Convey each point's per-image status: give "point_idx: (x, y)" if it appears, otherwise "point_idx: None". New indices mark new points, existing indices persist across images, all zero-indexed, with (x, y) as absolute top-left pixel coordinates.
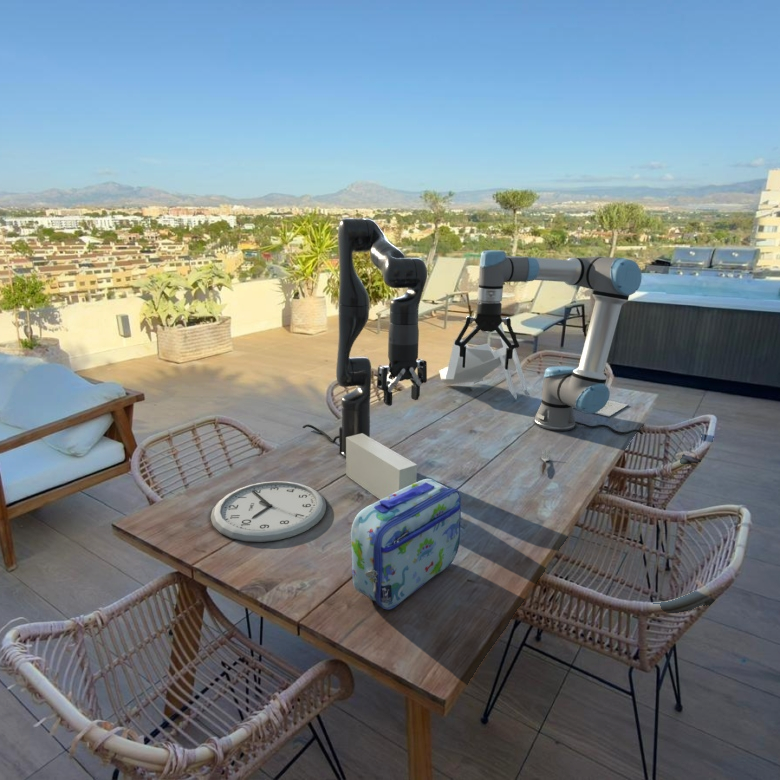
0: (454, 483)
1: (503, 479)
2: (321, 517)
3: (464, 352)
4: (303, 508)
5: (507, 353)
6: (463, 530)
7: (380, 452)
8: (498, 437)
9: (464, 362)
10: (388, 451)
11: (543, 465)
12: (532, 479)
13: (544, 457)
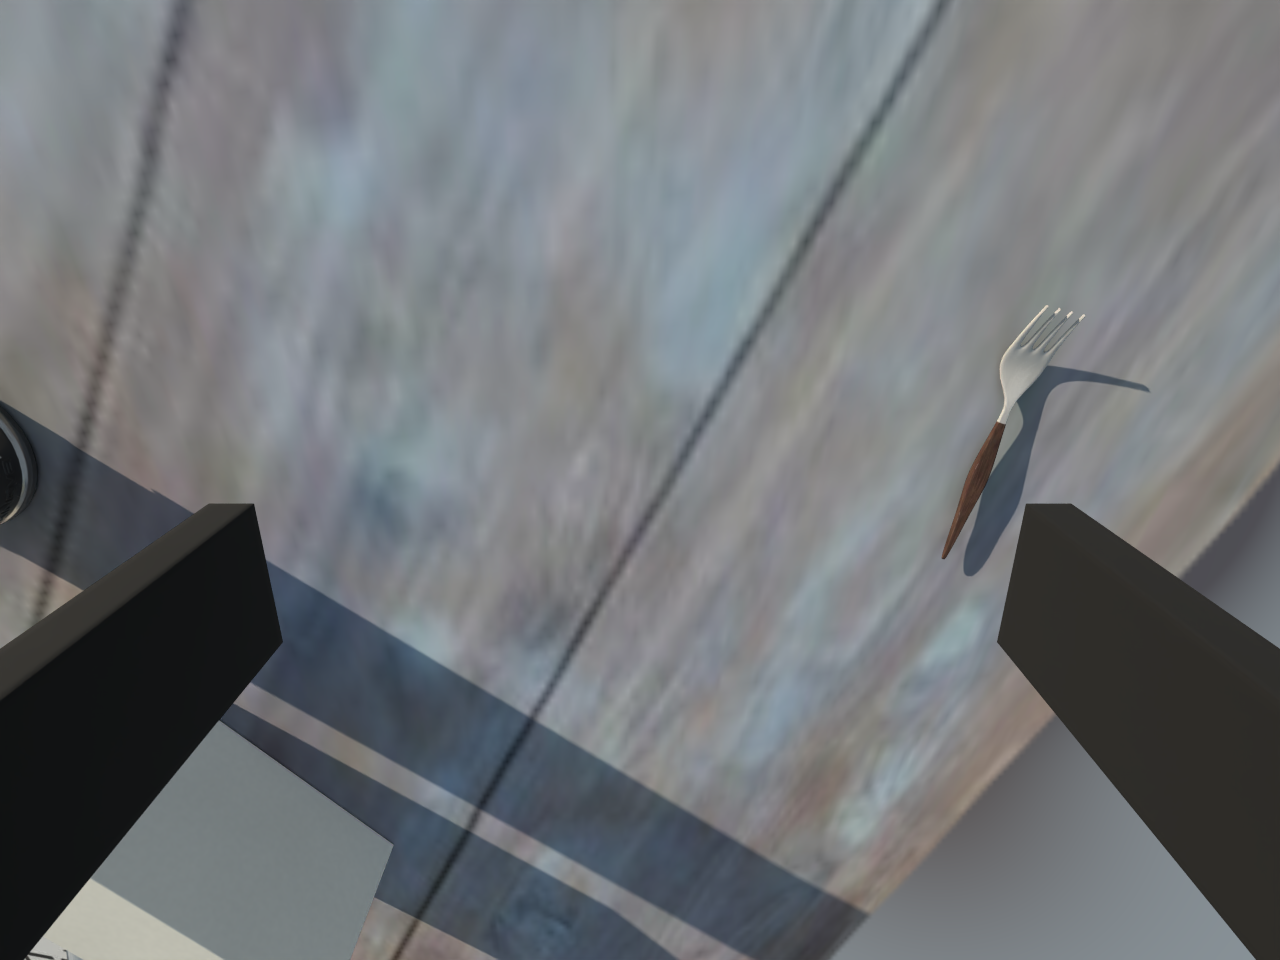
0: (521, 674)
1: (742, 611)
2: None
3: (44, 890)
4: None
5: (1240, 908)
6: (568, 935)
7: (118, 949)
8: (800, 11)
9: (218, 701)
10: (152, 937)
11: (977, 477)
12: (879, 593)
13: (1022, 355)
